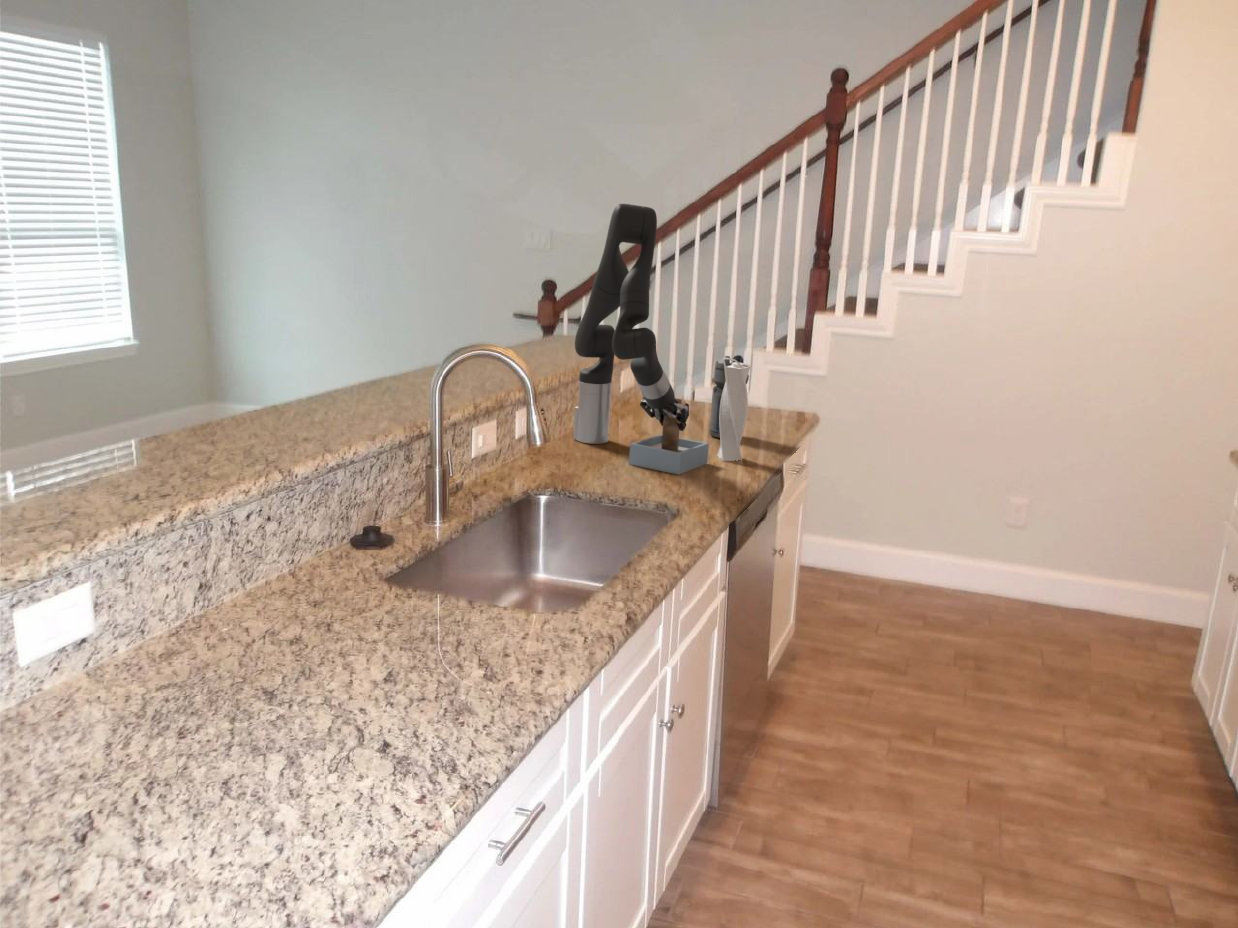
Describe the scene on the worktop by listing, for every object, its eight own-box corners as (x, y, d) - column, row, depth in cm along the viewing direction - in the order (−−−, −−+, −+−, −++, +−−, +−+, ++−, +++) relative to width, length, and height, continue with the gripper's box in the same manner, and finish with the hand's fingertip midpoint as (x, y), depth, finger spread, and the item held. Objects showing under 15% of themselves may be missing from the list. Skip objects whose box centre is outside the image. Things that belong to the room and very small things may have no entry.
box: (628, 464, 255) (630, 443, 254) (658, 453, 269) (660, 434, 267) (679, 474, 248) (680, 453, 247) (707, 463, 261) (708, 443, 260)
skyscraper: (719, 462, 263) (728, 359, 256) (710, 455, 270) (718, 355, 263) (747, 462, 265) (756, 360, 258) (736, 455, 272) (745, 355, 265)
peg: (658, 451, 257) (661, 399, 253) (666, 449, 260) (669, 397, 257) (672, 454, 254) (676, 401, 251) (680, 451, 258) (684, 399, 255)
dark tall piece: (749, 435, 299) (757, 354, 293) (734, 442, 288) (742, 358, 282) (718, 430, 304) (725, 350, 298) (703, 437, 292) (709, 354, 286)
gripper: (686, 378, 243) (704, 419, 255) (636, 371, 250) (656, 411, 263) (674, 402, 239) (693, 442, 252) (624, 394, 246) (645, 434, 259)
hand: (674, 426), depth 257 cm, fingers closed on peg, 4 cm apart
